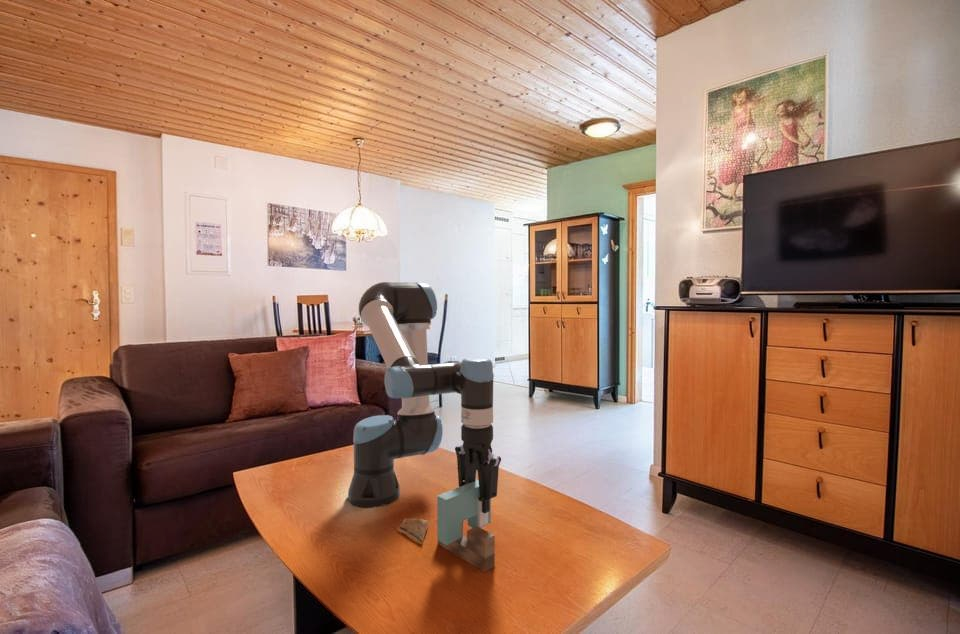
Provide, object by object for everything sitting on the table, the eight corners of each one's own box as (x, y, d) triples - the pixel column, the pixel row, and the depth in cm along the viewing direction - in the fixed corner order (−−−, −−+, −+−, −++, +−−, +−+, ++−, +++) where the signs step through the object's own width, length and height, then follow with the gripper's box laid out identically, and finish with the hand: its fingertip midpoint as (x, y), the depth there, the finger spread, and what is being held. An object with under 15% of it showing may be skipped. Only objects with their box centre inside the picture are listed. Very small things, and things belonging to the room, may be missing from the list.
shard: (422, 547, 108) (422, 540, 108) (391, 546, 108) (391, 539, 108) (429, 525, 119) (429, 518, 119) (401, 524, 119) (401, 517, 119)
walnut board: (437, 543, 109) (437, 515, 109) (447, 539, 111) (447, 511, 111) (485, 571, 98) (485, 540, 97) (494, 566, 100) (494, 535, 99)
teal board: (446, 545, 98) (446, 499, 98) (437, 540, 100) (437, 495, 100) (490, 522, 108) (490, 481, 108) (481, 518, 110) (481, 478, 110)
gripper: (442, 420, 109) (443, 516, 110) (490, 434, 98) (491, 540, 98) (465, 415, 114) (465, 506, 115) (513, 427, 103) (513, 528, 104)
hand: (477, 521), depth 107 cm, fingers closed on teal board, 3 cm apart
